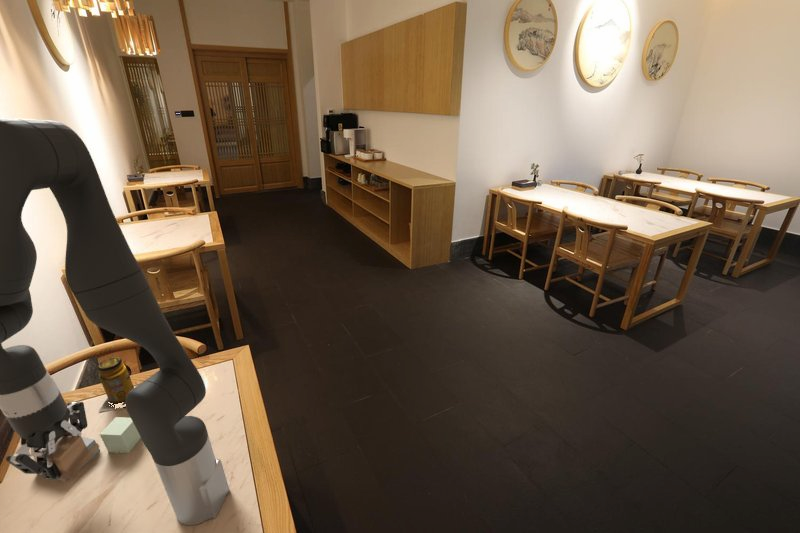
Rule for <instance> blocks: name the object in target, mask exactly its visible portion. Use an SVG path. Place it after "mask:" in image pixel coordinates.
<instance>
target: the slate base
mask: <svg viewBox="0 0 800 533" xmlns="http://www.w3.org/2000/svg"><path fill="white" fill-rule="evenodd" d="M81 437H82V439H83V441H84V443H85V445H86V447H87V449H88V451H89V453H90V455H91V456H92V457H91V458H90V459H89V460H88V461H87V462H86V463H85V464H87V463H88V462H89V461H90V460H91V459H92V458H94V457H95V456H96V455H97V454H98V453H99V452H100V445H99V443H97V441H96V439H95V438H89V437H87V436H86V437H85V436H82V435H81ZM85 464H84V465H85ZM38 475H40V476H43V474H42V473H40V474H38ZM56 480H58V481H61V482H64V483H65V482H67V481H68V480H69V479H56Z"/></svg>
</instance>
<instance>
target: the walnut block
mask: <svg viewBox="0 0 800 533" xmlns="http://www.w3.org/2000/svg"><path fill="white" fill-rule="evenodd" d="M81 436H82V435H81ZM81 436H62V437H61V438H59V439H58V441H57V442H56V443H55V452H54V453H53V461H54V463H55V464H56V466H57V467H58V469H59V471H60V472H61V474H62V475H61V476H60V477H59V478H58V479H68V480H72V479H73V478H74V477H75V476H76V474H78V472H79V471H80V470H81V469H82V468H83V467H84V466H85V463H86V462H87V461H88V460H89V459H90V458H91V457H92V456H91V455H90V453H89V451H88V449H87V447H86V445H85V443H84V441H83V439H82V437H83V436H82V437H81ZM42 449H46V448H42ZM92 458H93V457H92ZM92 458H91V459H92ZM91 459H90V460H91ZM43 460H44V457H43ZM90 460H89V461H90ZM89 461H88V462H89ZM88 462H87V463H88ZM87 463H86V464H87Z"/></svg>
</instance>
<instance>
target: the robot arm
mask: <svg viewBox="0 0 800 533" xmlns="http://www.w3.org/2000/svg"><path fill="white" fill-rule="evenodd" d="M44 189H50V191H51V193H52V194H53V197H54V198H55V200H56V202H57V204H58V207H59V208H60V210H61V212H62V215H63V217H64V221H65V224H66V225H65V226H66V249H65V261H64V262H65V263H64V264H65V265H64V269H65V270H64V271H65V273H64V274H65V279H66V282H67V285H68V287H69V289H70V291H71V293H72V295H73V296H74V298H75V299H76V301H77V303H78V305H79V306H80V308H81V310H82V311H83V313H84V315H85V317H86V318H87V319H88V320H89V321H90V322H91V323H93V324H94V325H96V326H98V327H99V328H100V329H103V330H105V331H107V332H110V333H111V334H113V335H117V336H119V337H121V338H123V339H126V340H128V341H131V342H133V343H135V344H136V345H138V346H140V347H141V348H144V349H145V350H146V351H147V352H148V353H149V354H150V355H151V357H152V358H153V359H154V361H155V362H156V363H157V365H158V368H159V370H158V371H157V372H155V373H154V374H152V375H150V376H149V377H148V378H146V379H144V380H143V381H142V382H141V383H139V384H138V385H136V387H135V388H133V389H132V390H131V391H130V392H129V393H128V394H127V396H126V399H125V404H126V408H125V409H126V411H127V413H128V415H129V418H131V419H132V421H133V423H134V425H135V427H136V429H137V431H138V433H139V435H140V437H141V438H140V439H141V442H142V443H143V445H144V447H145V448H146V449H147V452H149V454H150V456H151V458H152V460H153V463H154V465H155V468H156V471H157V472H158V475H159V478H160V480H161V482H162V485H163V487H164V490H165V492H166V495H167V497H168V499H169V502H170V505H171V507H172V509H173V512H174V515H175V517H176V518H177V521H178V522H179V523H181V524H182V525H185V526H195V525H198V524H202V523H204V522H206V521H207V520H210V519H216V518H217V516H218V513H219V512H220V509H221V508H222V505H223V503H224V502H225V500H226V497H227V495H228V493H229V491H230V486H229V484H228V480H227V476H226V473H225V470H224V466H223V463H222V460H221V459H217V458H216V455H215V453H214V449H213V446H212V443H211V440H210V436H209V433H208V429H207V426H206V423H205V422H204V421H203V420H202V419H201V418H199V417H198V416H194V415H188V414H190V412H192V410H194V409H195V408H196V407H197V406H198V405H199V404H200V403H201V402H203V400H204V399H205V397H206V392H207V389H206V385H205V382H204V379H203V377H202V375H201V373H200V372H199V370H198V369H197V367H196V365H195V364H194V362H193V361H192V359H191V358H190V356H189V355H188V353H187V352H186V350H185V348H184V346H183V345H182V344H181V342H180V340H179V339H178V337H177V336H176V334H175V333H174V331H173V329H172V328H171V326H170V323H169V322H168V320H167V318H166V316H165V314H164V313H163V310H162V308H161V306H160V305H159V303H158V300H157V298H156V296H155V294H154V291H153V290H152V287H151V285H150V283H149V281H148V280H147V278H146V275H145V274H144V271H143V269H142V267H141V266H140V264H139V262H138V261H137V259H136V257H135V255H134V254H133V252H132V249H131V248H130V245H129V243H128V242H127V239H126V238H125V235H124V232H123V231H122V229H121V226H120V224H119V223H118V220H117V218H116V216H115V214H114V211H113V209H112V207H111V204H110V202H109V199H108V197H107V194H106V191H105V189H104V186H103V184H102V181H101V177H100V175H99V172H98V169H97V167H96V164H95V163H94V160H93V158H92V156H91V153H90V151H89V149H88V147H87V145H86V143H85V142H84V141H83V139H82V138H81V137H80V136H79V134H78V133H77V132H76V131H74V130H73V129H72V128H71V127H69V126H68V125H66V124H64V123H62V122H60V121H57V120H50V119H36V118H35V119H34V118H9V117H6V118H5V117H0V411H1V412H2V414H3V415H4V417H5V418H6V420H7V421H8V424H9V426H11V428H12V430H13V431H14V432H15V433H16V434H17V435H18V436H19V437H20V447H19V448H18V449H17V450H16V452H15V453H9V454H8V455H7V457H5V458H6V459H5V460H6V462H7V463H9V464H10V465H11V466H13V467H15V469H17V470H19V471H21V472H22V473H23V474H27V475H29V474H31V475H32V474H33V475H39V474H40V473H42V474H43V475H42V476H43V477H44V479H46V480H57V479H58V478H59V477H60V476H61V475H62V474H61V472H60V471H59V469H58V467H57V466H56V464H55V463H54V461H53V453H54V452H55V443H56V442H57V441H58V439H59V438H61V437H62V436H82V434H83V433H82V431H83V430H85V429H86V428H88V424H89V423H88V419H87V415H86V414H87V413H86V408H85V404H84V401H69V402H68V403H66V401H65V399H64V397H63V395H62V393H61V391H60V389H59V388H58V386H57V385H58V384H56V382H55V380H54V378H53V377H52V376H51V375H50V373H49V372H48V370H47V368H46V366H45V365H44V363H43V360H42V359H41V357H40V355H39V353H38V352H37V350H36V349H35V348H34V347H32V346H29V345H26V344H25V345H24V344H20V345H12V346H8V347H6V348H4V347H3V345H2V343H4V342H5V341H8V339H10V338H12V337H13V336H14V335H17V333H19V332H21V331H22V330H23V329H25V328H26V327H27V326H28V324H29V323H30V321H31V319H32V317H33V314H34V313H33V312H34V310H33V309H34V308H33V302H32V297H31V296H32V295H31V292H30V287H31V284H32V281H33V277H34V273H35V269H36V266H37V260H38V259H37V257H38V256H37V255H38V254H37V249H36V246H35V244H34V241H33V240H32V238H31V236H30V235H29V233H28V231H27V230H26V228H25V227H24V223H23V220H22V215H23V209H24V207H25V204H26V202H27V199H28V198H29V196H30V194H31V192H32V191H36V190H44ZM43 448H46V449H43ZM32 457H33V458H32ZM43 457H44V460H43Z"/></svg>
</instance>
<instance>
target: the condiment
mask: <svg viewBox="0 0 800 533" xmlns="http://www.w3.org/2000/svg"><path fill="white" fill-rule="evenodd" d="M96 368H97V370H98V378H99V381H100V384H101V385H102V387H103V390H104V391H105V394H106V396H107V397H106V399H105V401H104V402H103V404H102V405H101V407H100V408H99V409H98V413H99V412H100V413H101V412H107V411H108V412H109V411H115V410H116V409H117V410H120V409H122V408H120V407H119V408H116V409H115V405H114V404H118V403H122V402H125V399H126V396H127V394H128V393H129V392H130V391H131V390H132V389H133V388H134V386H135V385H134V384H133V381H132V379H131V376H130V373H129V371H128V369H127V366H126V365H125V364H124V363H123V360H122V358H121V357H119V356H114V357H113V356H112V357H107V358H105V359H103V360H101V362H99V363H98V365H97V367H96ZM108 402H110V403H113V404H112V405H114V407H113V406H112V405H111V404H109V403H108ZM109 405H110V406H109ZM111 406H112V407H111ZM125 407H126V406H125Z"/></svg>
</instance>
